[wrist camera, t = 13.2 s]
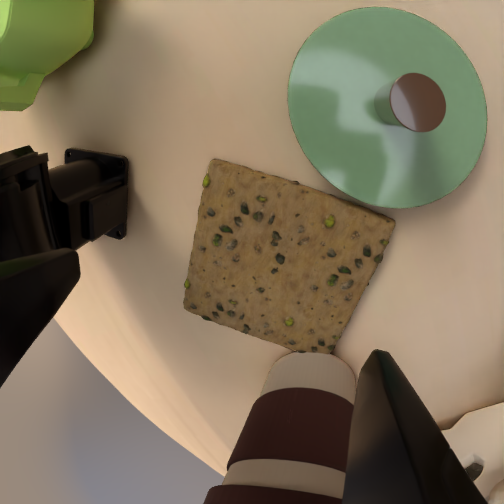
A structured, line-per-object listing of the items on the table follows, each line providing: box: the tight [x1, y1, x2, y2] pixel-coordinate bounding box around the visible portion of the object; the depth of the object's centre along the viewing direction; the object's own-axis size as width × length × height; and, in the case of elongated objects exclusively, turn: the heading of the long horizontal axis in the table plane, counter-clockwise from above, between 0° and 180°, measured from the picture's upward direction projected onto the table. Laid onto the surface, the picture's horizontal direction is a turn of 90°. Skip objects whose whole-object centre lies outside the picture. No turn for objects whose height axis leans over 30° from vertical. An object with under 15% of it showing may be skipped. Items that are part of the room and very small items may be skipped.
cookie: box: [183, 159, 395, 354], centre depth 20 cm, size 12×12×1 cm
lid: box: [288, 7, 487, 208], centre depth 12 cm, size 11×11×6 cm
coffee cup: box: [204, 352, 356, 504], centre depth 18 cm, size 10×10×15 cm
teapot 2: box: [0, 0, 94, 111], centre depth 12 cm, size 12×12×10 cm
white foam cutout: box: [441, 402, 504, 502], centre depth 20 cm, size 3×15×11 cm, turn 127°
